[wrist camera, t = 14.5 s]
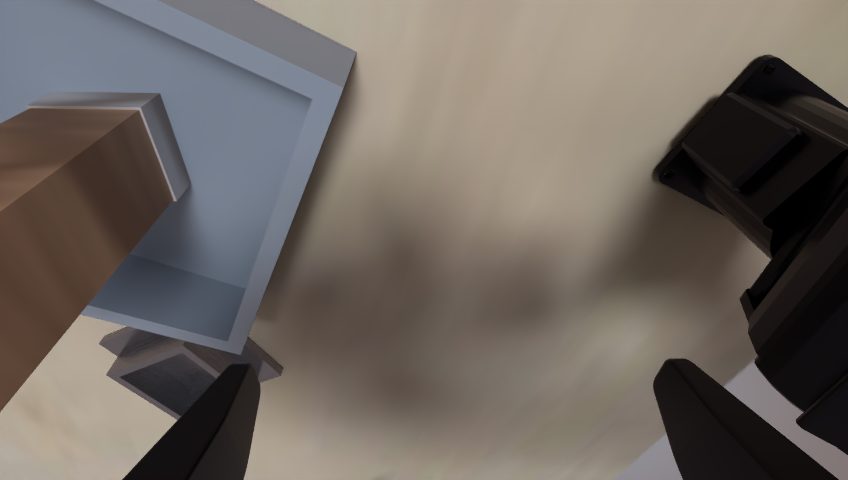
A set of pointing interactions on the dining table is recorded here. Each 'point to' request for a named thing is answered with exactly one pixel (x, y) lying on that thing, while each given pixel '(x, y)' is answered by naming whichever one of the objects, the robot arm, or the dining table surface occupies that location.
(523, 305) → the dining table surface
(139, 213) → the strut
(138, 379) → the socket block
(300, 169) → the bin
